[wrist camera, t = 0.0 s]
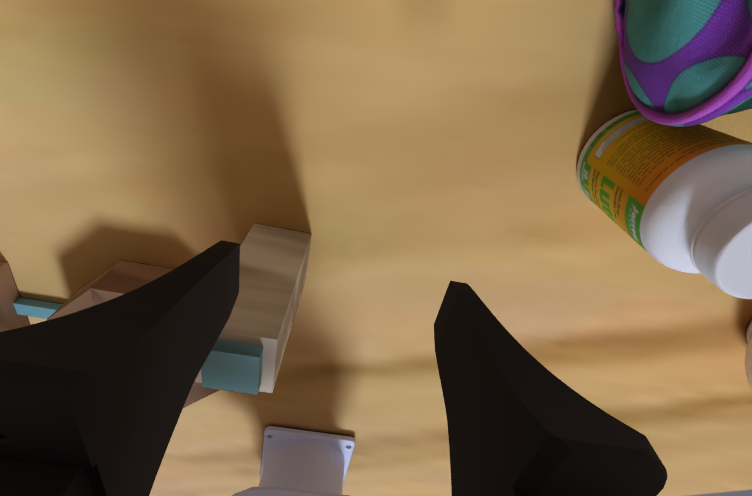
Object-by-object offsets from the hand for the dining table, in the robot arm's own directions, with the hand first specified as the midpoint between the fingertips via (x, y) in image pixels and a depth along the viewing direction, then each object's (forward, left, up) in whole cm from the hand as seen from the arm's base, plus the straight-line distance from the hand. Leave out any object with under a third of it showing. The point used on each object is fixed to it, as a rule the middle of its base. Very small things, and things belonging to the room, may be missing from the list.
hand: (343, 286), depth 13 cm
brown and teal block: (-6, +4, -10) cm, 12 cm away
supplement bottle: (+4, -14, -10) cm, 18 cm away
